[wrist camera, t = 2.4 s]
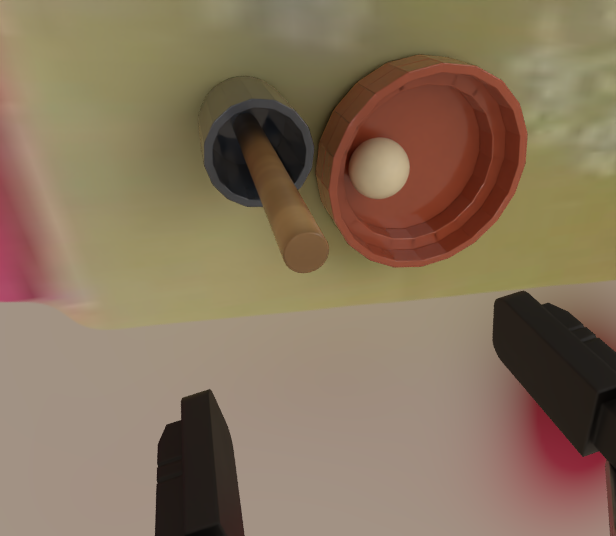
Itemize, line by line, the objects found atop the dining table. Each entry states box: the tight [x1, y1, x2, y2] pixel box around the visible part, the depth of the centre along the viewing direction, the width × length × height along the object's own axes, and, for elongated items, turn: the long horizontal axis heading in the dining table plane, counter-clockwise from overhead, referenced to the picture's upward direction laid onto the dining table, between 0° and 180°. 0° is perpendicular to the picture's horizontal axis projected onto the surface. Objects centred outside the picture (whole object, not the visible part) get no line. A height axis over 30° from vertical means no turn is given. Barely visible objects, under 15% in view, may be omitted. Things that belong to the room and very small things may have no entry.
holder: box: [198, 76, 314, 207], centre depth 30 cm, size 6×6×7 cm
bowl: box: [316, 54, 528, 267], centre depth 36 cm, size 15×15×4 cm
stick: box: [233, 113, 329, 273], centre depth 25 cm, size 2×2×18 cm
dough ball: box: [349, 137, 410, 199], centre depth 34 cm, size 4×4×4 cm
